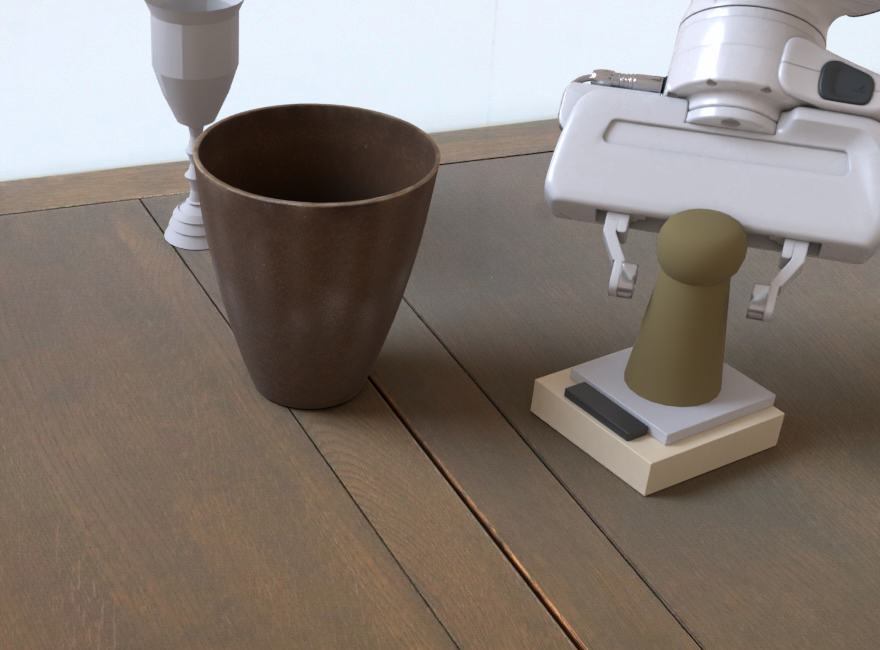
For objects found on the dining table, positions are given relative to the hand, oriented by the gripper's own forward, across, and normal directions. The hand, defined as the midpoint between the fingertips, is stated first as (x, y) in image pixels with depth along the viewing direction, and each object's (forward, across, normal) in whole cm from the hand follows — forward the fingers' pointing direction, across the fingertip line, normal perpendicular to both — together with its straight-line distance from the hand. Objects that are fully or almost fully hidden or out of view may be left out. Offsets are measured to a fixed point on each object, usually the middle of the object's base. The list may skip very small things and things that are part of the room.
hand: (688, 306), depth 95 cm
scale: (+6, -1, +6) cm, 9 cm away
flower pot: (+8, -23, +5) cm, 25 cm away
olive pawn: (+4, 0, +4) cm, 6 cm away
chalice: (-4, -38, +17) cm, 41 cm away
